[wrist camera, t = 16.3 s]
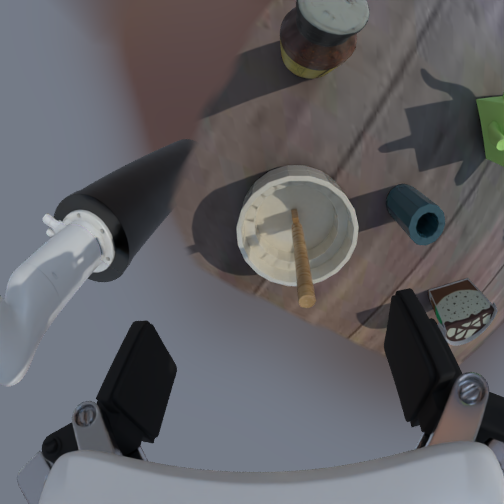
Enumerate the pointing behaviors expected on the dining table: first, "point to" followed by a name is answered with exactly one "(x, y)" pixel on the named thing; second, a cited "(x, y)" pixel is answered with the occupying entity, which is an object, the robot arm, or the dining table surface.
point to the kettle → (492, 127)
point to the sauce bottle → (321, 35)
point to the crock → (415, 214)
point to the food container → (461, 311)
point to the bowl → (310, 217)
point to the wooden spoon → (302, 264)
